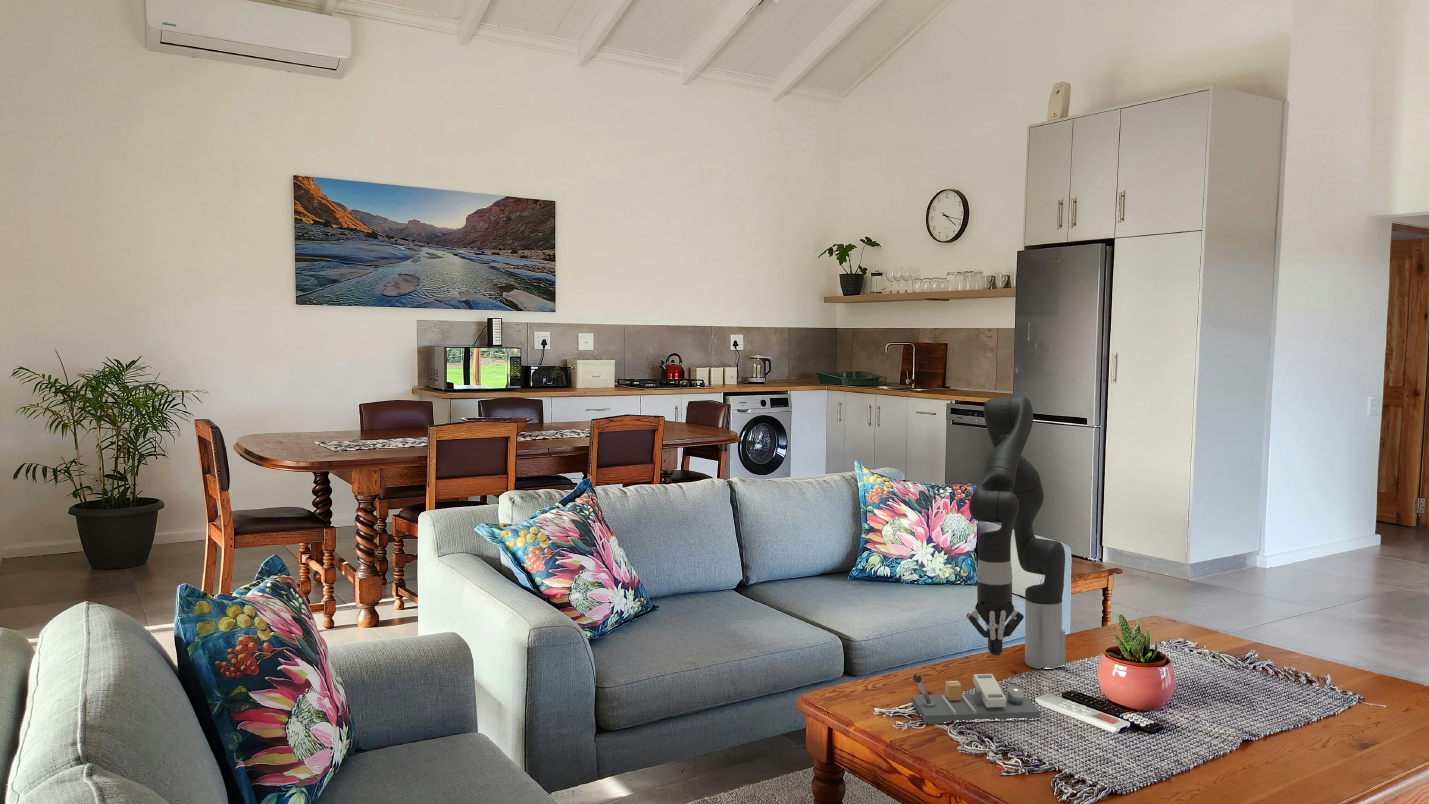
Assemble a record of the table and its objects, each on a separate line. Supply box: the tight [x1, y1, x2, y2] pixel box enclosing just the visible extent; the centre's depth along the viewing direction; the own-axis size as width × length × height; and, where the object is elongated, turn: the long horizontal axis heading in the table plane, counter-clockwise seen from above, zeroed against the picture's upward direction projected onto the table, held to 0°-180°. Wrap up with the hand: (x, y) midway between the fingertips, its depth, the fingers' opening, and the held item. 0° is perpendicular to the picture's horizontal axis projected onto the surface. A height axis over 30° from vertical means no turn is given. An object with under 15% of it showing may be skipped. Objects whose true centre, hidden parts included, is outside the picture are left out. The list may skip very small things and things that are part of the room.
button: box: [1006, 684, 1024, 704], centre depth 217 cm, size 4×4×3 cm
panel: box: [911, 686, 1041, 725], centre depth 216 cm, size 26×12×5 cm, turn 92°
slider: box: [944, 680, 963, 701], centre depth 219 cm, size 3×3×4 cm
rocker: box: [972, 673, 1007, 707], centre depth 216 cm, size 4×10×2 cm, turn 2°
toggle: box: [912, 673, 931, 704], centre depth 216 cm, size 2×2×8 cm
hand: (995, 654), depth 212 cm, fingers closed
